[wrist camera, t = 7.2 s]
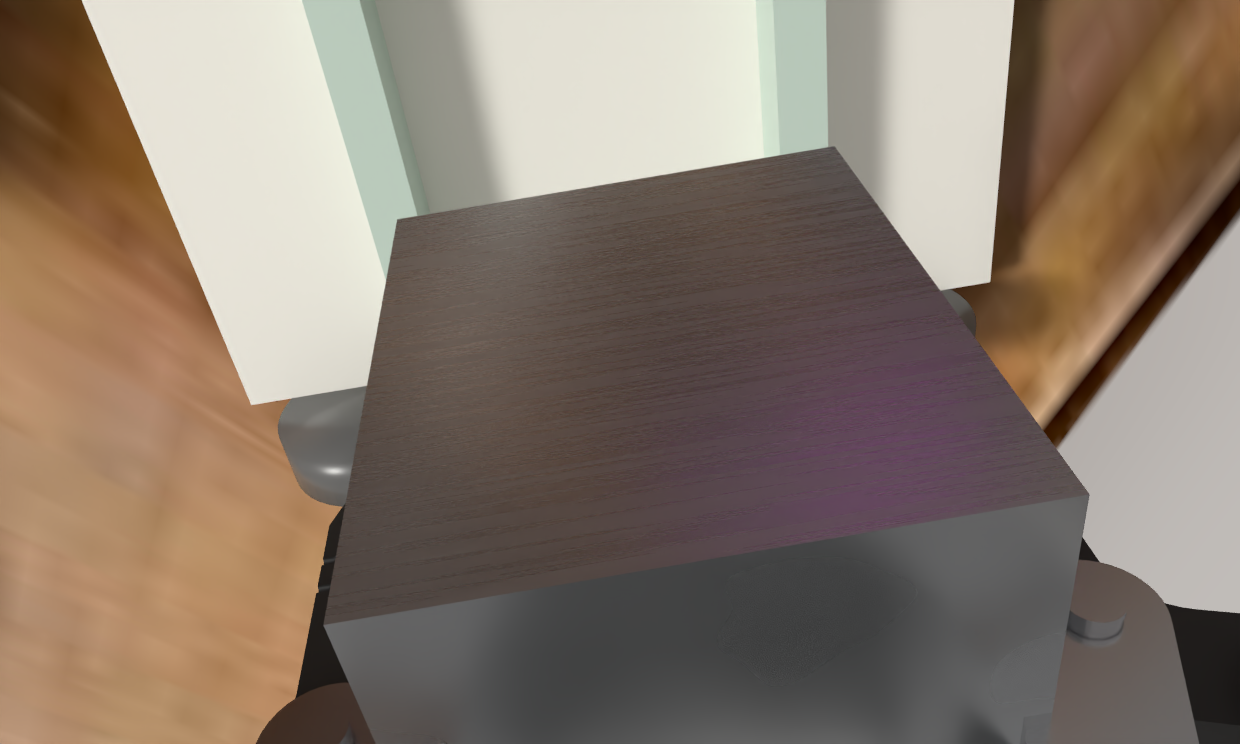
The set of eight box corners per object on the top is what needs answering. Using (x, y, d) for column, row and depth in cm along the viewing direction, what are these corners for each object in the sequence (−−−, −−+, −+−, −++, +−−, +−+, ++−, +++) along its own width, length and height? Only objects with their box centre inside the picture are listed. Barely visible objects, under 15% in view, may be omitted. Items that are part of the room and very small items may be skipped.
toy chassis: (-18, -313, 21) (-142, -312, 17) (1023, -479, 21) (1149, -518, 17) (277, 417, 32) (245, 526, 28) (967, 302, 32) (1036, 393, 28)
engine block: (396, 219, 11) (322, 626, 7) (835, 145, 12) (1089, 494, 7) (515, 635, 15) (525, 1084, 10) (841, 579, 16) (1003, 1000, 11)
